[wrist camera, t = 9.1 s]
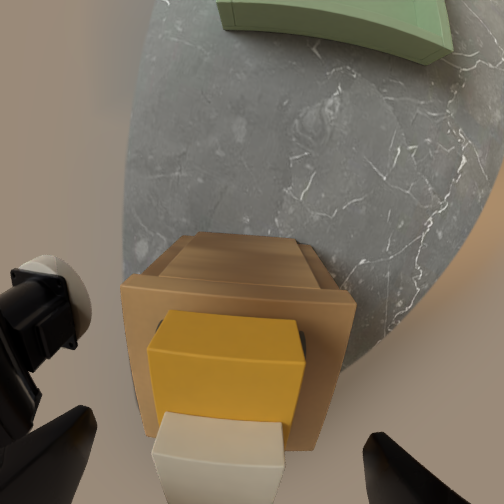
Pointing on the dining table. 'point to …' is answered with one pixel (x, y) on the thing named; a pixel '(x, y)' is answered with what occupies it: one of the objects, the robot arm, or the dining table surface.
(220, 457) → the small car
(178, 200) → the dining table surface
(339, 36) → the green box
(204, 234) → the oak stand
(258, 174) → the dining table surface
